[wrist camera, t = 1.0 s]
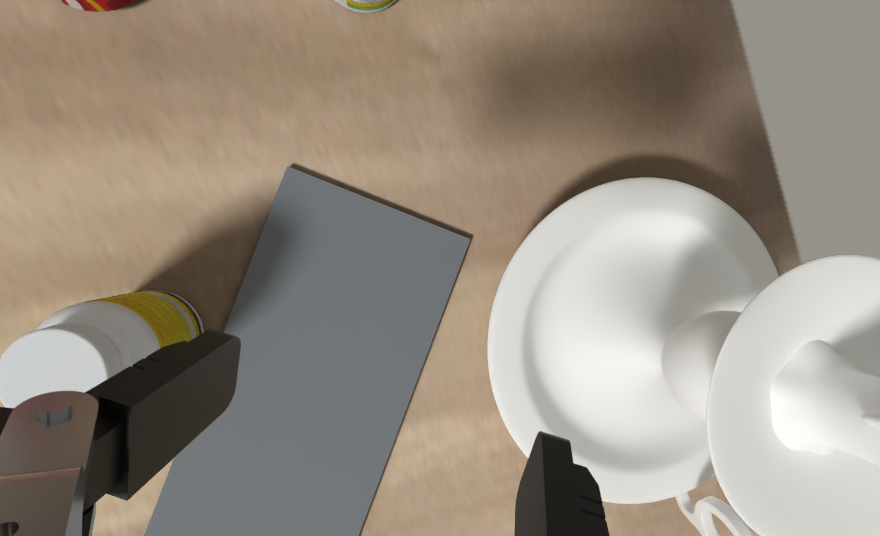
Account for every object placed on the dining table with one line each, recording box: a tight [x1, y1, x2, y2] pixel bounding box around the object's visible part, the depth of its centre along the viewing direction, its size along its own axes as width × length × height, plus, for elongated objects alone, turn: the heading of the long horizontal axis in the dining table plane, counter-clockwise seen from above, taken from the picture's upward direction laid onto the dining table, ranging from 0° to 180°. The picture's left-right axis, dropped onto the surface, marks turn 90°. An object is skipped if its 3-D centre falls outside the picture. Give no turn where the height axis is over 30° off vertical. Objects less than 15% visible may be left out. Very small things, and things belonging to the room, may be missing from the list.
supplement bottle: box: [0, 290, 204, 408], centre depth 24 cm, size 5×5×10 cm
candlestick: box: [487, 177, 880, 536], centre depth 20 cm, size 21×25×28 cm
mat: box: [144, 166, 470, 536], centre depth 30 cm, size 12×24×1 cm, turn 159°
